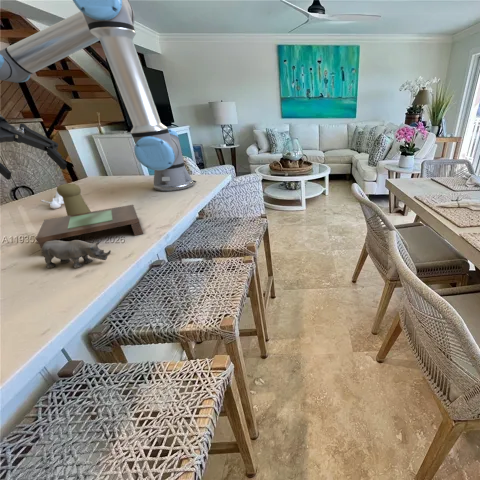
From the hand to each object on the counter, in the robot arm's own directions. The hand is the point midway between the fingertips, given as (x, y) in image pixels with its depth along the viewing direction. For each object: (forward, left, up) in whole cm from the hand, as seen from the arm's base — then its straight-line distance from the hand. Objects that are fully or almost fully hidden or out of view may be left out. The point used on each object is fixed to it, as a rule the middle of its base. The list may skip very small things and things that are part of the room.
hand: (39, 171), depth 78 cm
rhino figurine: (-7, +42, -14) cm, 45 cm away
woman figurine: (0, -17, -14) cm, 23 cm away
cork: (-6, +8, -14) cm, 17 cm away
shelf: (-10, +25, -14) cm, 30 cm away
